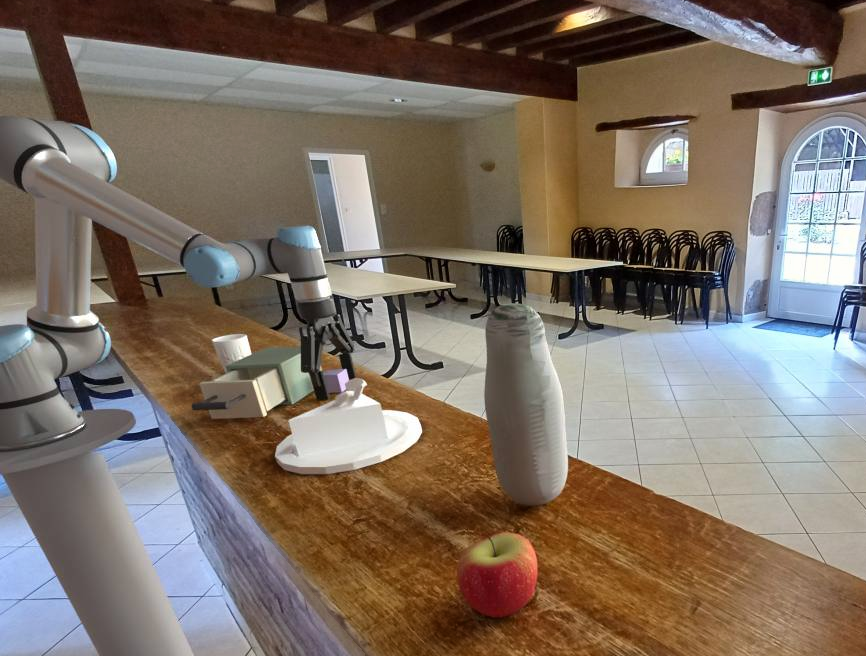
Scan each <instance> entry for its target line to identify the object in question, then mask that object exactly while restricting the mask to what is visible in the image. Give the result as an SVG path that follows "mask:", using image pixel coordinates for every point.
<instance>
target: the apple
mask: <svg viewBox="0 0 866 656" xmlns="http://www.w3.org/2000/svg"><path fill="white" fill-rule="evenodd" d="M456 579H457V584H458V588H459V591H460V593H461V595H462V597H463V599H464V600H465V602H467V604H468V605H469V606H470V607H471V608H472V609H474V610H475V611H476V612H478V613H480V614H482V615H484V616H487V617H492V618H504V617H507V616H511V615H513V614H515V613H517V612H518V611H520V610H521V609H523V608H524V607H526V605H527V604H528V602H529V601H530V599H531V598H532V596H533V594H534V591H535V588H536V584H537V581H538V559H537V555H536V551H535V549H534V547H533V545H532V543H531V542H530V541H529V540H528V538H525V536H523V535H520V534H518V533H514V532H498V533H495V534H492V535H489V536H487V537H484V538H483V539H481V540H479V541H477V542H475V543H473V544H472V545H470V546H468V547H467V548H466V549H465V550H464V551H463V552H462V553H461V555H460V556H459V558H458V561H457V565H456Z"/></svg>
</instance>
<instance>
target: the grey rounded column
mask: <svg viewBox="0 0 866 656" xmlns="http://www.w3.org/2000/svg"><path fill="white" fill-rule="evenodd" d="M545 329H546V328H545V324H544V321H543V320H542V318H541V315H539V313H538V312H537V311H536V310H535V309H534V308H533V307H531V306H529V305H526V304H522V303H504V304H500V305H499V306H497V307H496V308H494V309H493V310H491V312H490V313H489V315H488V317H487V320H486V324H485V344H486V365H485V375H484V377H485V379H484V390H483V392H484V393H483V397H484V398H483V399H484V409H485V417H486V422H487V429H488V434H489V438H490V444H491V451H492V458H493V465H494V470H495V474H496V479H497V481H498V484H499V485H500V486H501V489H502V491H503V492H504V493H505V495H506V496H507V497H508V498H510V499H511V500H513V501H514V502H516V503H518V504H520V505H522V506H523V505H524V506H528V507H529V506H530V507H536V506H537V507H539V506H542V505H546V504H548V503H550V502H552V501H553V500H555V499H556V498H557V497H558V496H560V494H561V493H562V491H563V490H564V488H565V485H566V482H567V479H568V473H569V457H568V445H567V432H566V431H567V430H566V416H565V403H564V396H563V389H562V386H561V383H560V379H559V376H558V374H557V370H556V368H555V366H554V363H553V360H552V357H551V353H550V350H549V346H548V342H547V339H546V330H545Z"/></svg>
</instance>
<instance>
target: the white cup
mask: <svg viewBox="0 0 866 656" xmlns="http://www.w3.org/2000/svg"><path fill="white" fill-rule="evenodd" d="M211 343H212V345H213V347H214V351H215V353H216V355H217V358H218V360H219V363H220V365H221V368H222V369H223V371H224V374H226V373H228V372H227V369H226V365H229V364H231V363H233V362H235V361H237V360H240V359H242V358H244V357H246V356H249V355H251V354H252V351H251V346H250V343H249V339H248V335H247V334H246V333H235V334H228V335H226V334H225V335H222V336H218V337H214V338H213V339H211Z"/></svg>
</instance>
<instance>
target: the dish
mask: <svg viewBox="0 0 866 656" xmlns="http://www.w3.org/2000/svg"><path fill="white" fill-rule="evenodd" d="M367 385H368V384H367V382H366V381H365V380H364V379H363V378H361V377H357V378H354V379H352V380H349V381H348V382H347V383H345V387H346V390H344V391H343V392H340V393H338V395H336V396H335V397H334V398H335V399H334V400H332V401H330V402H327V403H325V404H323V405H319V406H317V407H316V408H313V409H311V410H308V411H306V412H304V413H302V414H299V415H297V416H294V417H292V418H290V419H288V420H287V421H288V424H289V428H290V431H291V434H289V435H287V436H286V437H285V438H284V439H282V441H281V442H280V443H279V444H277V445H276V449H275V452H274V458H275V461H276V463H277V464H278V465H279V466H280V467H281V468H282V469H283V470H284V471H287V472H291V473H295V474H299V475H331V474H335V473H342V472H350V471H355V470H358V469H362V468H365V467H366V468H367V467H369V466H372V465H375V464H378V463H382V462H384V461H387V460H389V459H390V458H393V457H396V456H397V455H399V454H402V453H403V452H405V451H406V450H408V449H409V448H410V447H412V446H413V445H415V444H416V443H417V442H418V440H419V439H420V437H421V435H422V433H423V429H422V425H421V422H420V420H419V418H418V417H417V416H416V415H413V414H412V413H409V412H407V411H400V410H392V409H385V410H384V409H383V408H382V405H381V403H380V402H378V401H377V400H374V399H373V398H370V397H369V396H366V395H365V394H363V390H364V388H365V387H366V386H367Z"/></svg>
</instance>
